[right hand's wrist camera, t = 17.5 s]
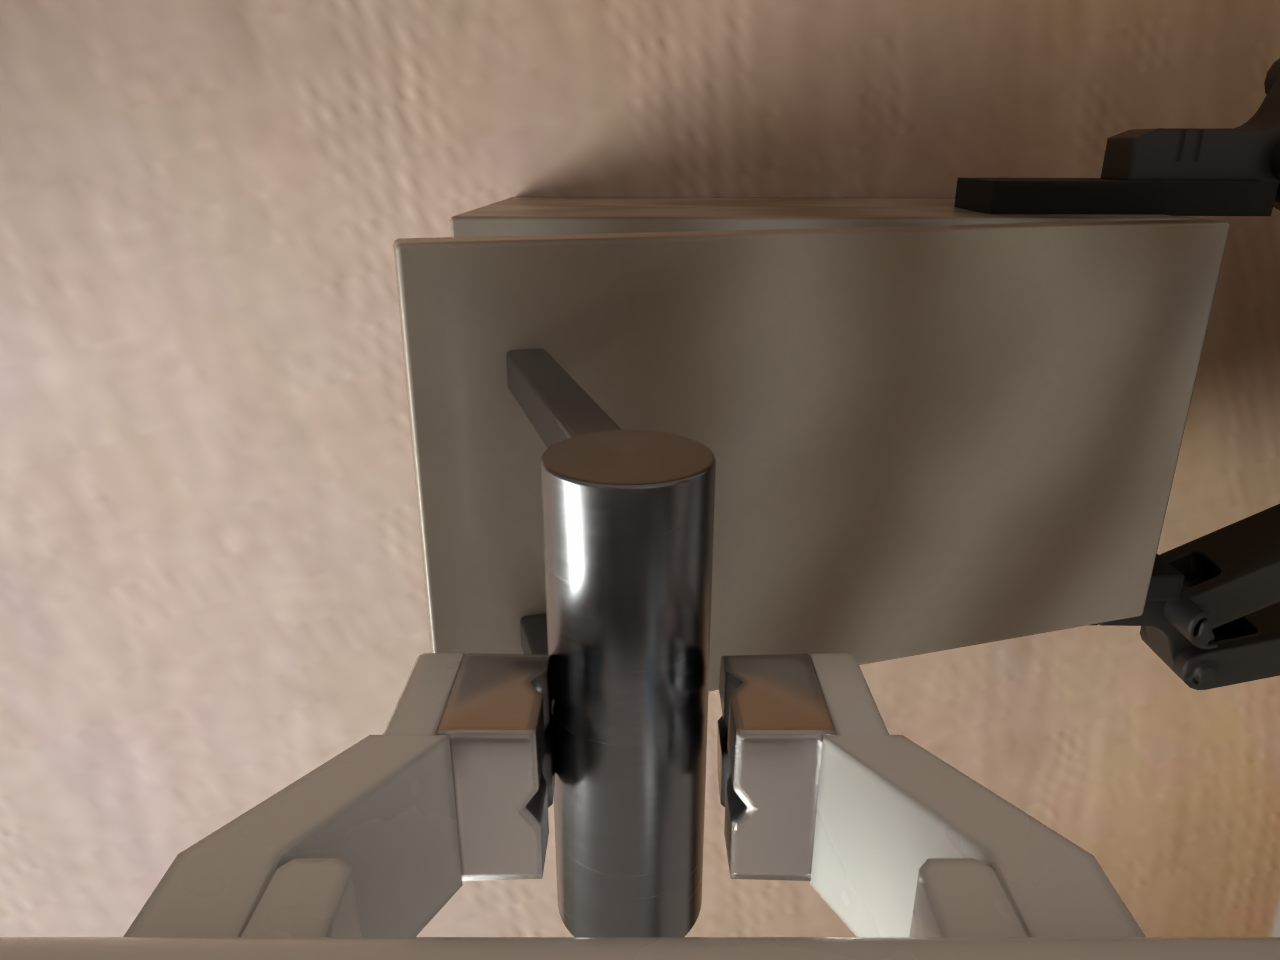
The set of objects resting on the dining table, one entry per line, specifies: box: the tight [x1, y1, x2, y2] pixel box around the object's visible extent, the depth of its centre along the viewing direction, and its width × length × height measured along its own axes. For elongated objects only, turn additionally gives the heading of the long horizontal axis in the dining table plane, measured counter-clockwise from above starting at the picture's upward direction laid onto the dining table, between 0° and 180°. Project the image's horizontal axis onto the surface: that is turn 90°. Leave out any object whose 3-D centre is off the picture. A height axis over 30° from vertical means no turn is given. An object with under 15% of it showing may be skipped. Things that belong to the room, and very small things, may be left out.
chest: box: [451, 197, 1193, 237], centre depth 25 cm, size 17×9×9 cm, turn 90°
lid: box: [393, 219, 1230, 937], centre depth 15 cm, size 17×9×8 cm, turn 89°
